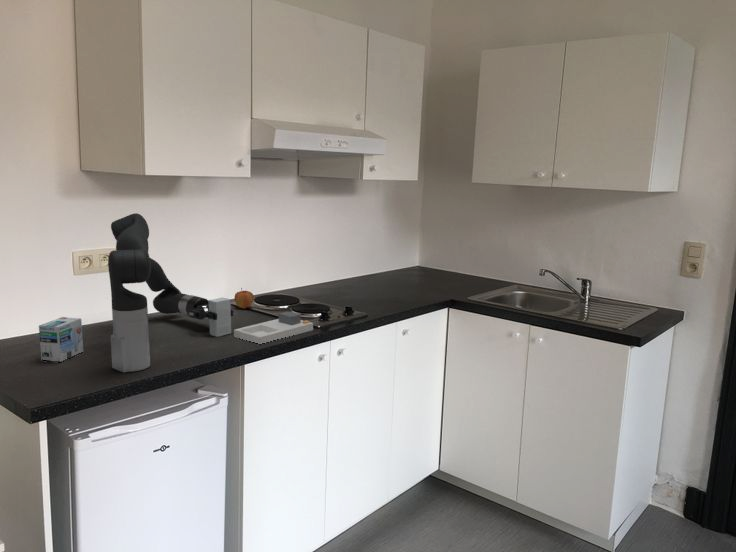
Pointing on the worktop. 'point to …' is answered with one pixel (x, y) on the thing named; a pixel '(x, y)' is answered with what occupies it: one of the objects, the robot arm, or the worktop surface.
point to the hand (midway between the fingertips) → (224, 315)
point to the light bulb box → (61, 338)
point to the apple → (243, 299)
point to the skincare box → (220, 317)
